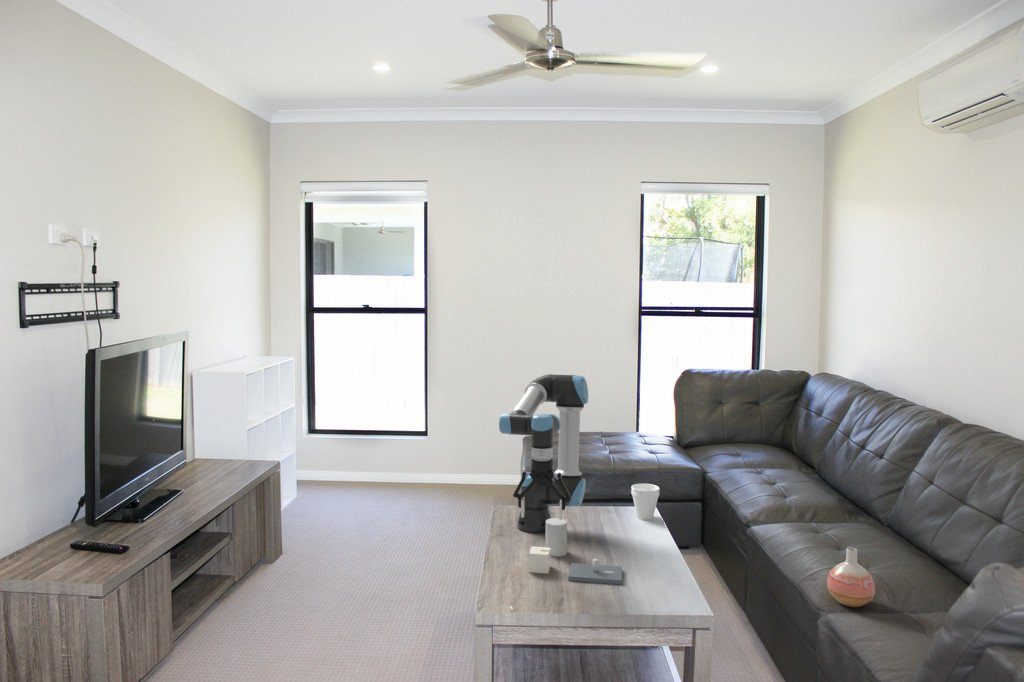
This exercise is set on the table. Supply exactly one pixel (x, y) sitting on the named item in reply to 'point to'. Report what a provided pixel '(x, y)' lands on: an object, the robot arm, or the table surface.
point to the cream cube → (539, 559)
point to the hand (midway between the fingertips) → (541, 517)
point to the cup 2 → (645, 500)
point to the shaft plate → (595, 573)
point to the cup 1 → (556, 536)
